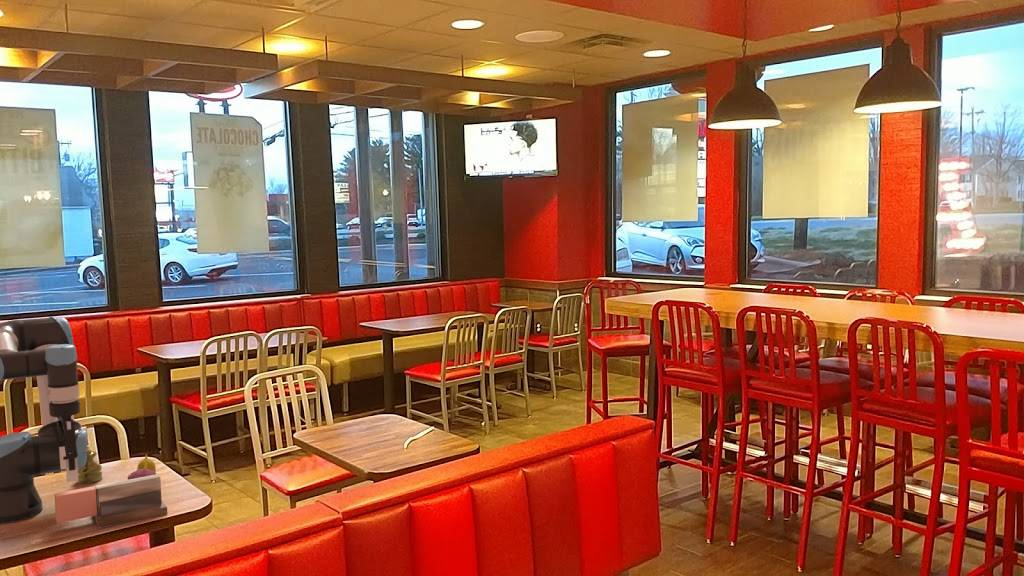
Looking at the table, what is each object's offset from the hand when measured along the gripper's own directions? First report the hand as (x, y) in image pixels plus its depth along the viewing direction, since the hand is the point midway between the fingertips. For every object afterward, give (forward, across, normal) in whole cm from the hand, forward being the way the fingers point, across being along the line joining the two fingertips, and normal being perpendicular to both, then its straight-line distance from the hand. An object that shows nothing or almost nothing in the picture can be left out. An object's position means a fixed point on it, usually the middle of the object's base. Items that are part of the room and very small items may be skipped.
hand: (69, 474), depth 227 cm
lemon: (+15, -27, +25) cm, 40 cm away
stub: (+13, 0, +1) cm, 13 cm away
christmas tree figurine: (+15, -40, +10) cm, 44 cm away
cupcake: (+15, -18, +22) cm, 32 cm away
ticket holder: (+15, 0, +15) cm, 21 cm away
